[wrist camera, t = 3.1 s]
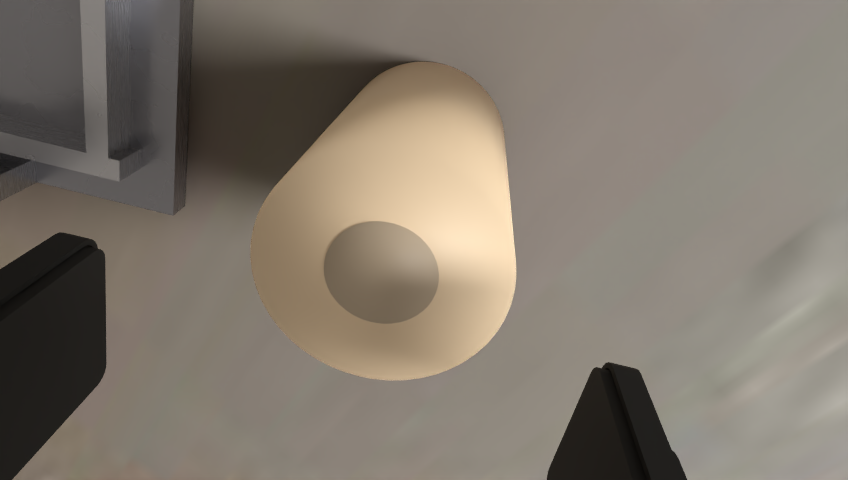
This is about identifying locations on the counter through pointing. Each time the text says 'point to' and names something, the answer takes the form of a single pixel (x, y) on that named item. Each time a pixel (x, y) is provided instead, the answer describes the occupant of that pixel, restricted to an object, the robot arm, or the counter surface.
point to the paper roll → (394, 230)
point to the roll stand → (96, 98)
